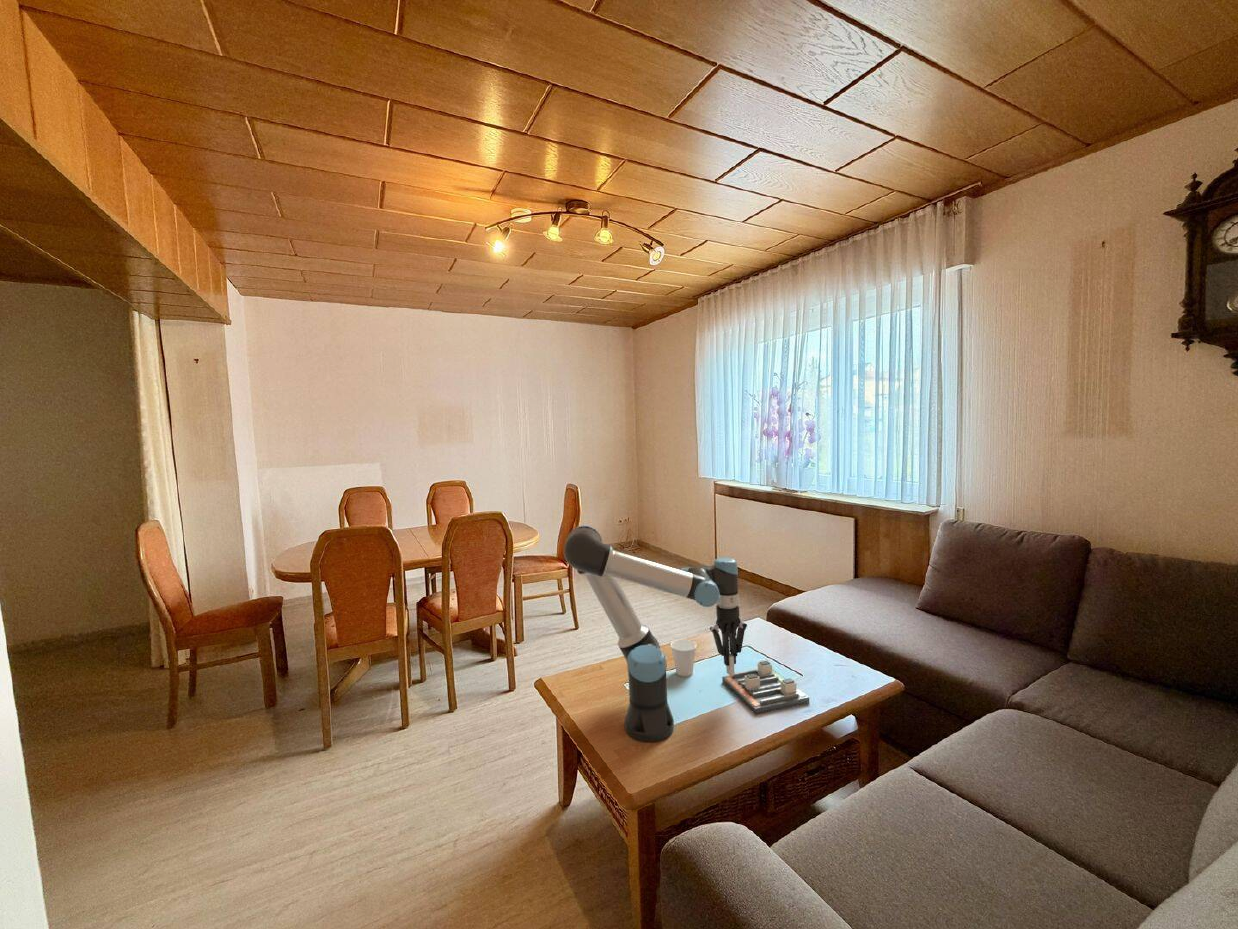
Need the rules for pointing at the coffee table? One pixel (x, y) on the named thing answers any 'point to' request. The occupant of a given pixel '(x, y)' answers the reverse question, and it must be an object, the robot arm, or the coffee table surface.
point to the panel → (764, 692)
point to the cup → (683, 656)
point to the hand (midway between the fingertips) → (730, 673)
